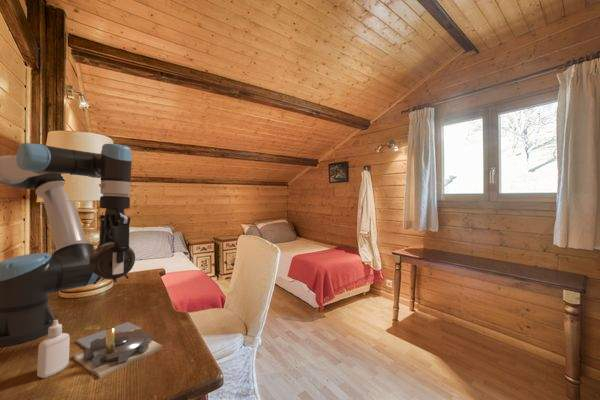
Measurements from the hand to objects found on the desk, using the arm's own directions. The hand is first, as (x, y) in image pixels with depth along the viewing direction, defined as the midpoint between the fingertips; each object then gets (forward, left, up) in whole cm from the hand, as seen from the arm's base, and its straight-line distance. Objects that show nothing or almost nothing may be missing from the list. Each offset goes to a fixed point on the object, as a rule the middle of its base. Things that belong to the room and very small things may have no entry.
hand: (112, 271), depth 79 cm
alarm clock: (0, 0, -3) cm, 3 cm away
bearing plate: (+12, -3, -19) cm, 23 cm away
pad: (0, 0, -19) cm, 19 cm away
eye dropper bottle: (+7, -15, -20) cm, 26 cm away
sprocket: (+12, -3, -18) cm, 22 cm away
